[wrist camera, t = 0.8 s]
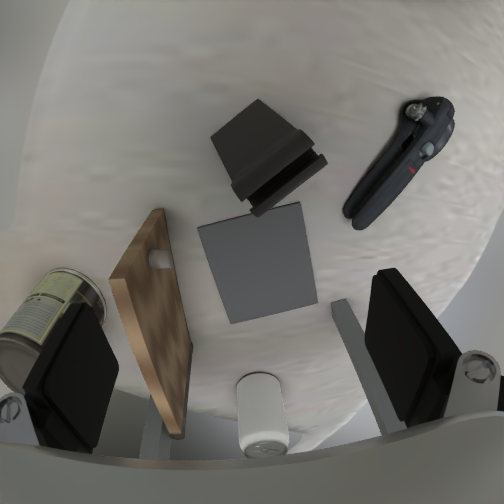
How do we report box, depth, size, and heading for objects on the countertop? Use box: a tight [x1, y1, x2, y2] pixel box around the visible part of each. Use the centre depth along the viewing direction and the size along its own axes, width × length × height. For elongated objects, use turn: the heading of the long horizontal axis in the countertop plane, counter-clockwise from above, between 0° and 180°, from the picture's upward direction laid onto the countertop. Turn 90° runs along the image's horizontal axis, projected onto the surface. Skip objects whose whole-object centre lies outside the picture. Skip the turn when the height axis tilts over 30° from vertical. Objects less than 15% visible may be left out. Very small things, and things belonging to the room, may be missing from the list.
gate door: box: [108, 209, 193, 440], centre depth 30 cm, size 19×3×14 cm, turn 4°
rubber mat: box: [197, 202, 318, 324], centre depth 36 cm, size 11×13×1 cm
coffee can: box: [0, 268, 106, 397], centre depth 30 cm, size 10×10×14 cm
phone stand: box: [210, 99, 328, 218], centre depth 25 cm, size 9×6×12 cm, turn 39°
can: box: [237, 373, 289, 459], centre depth 39 cm, size 6×6×12 cm
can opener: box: [344, 97, 455, 230], centre depth 29 cm, size 18×7×6 cm, turn 143°
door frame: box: [139, 299, 407, 461], centre depth 30 cm, size 24×2×22 cm, turn 104°
